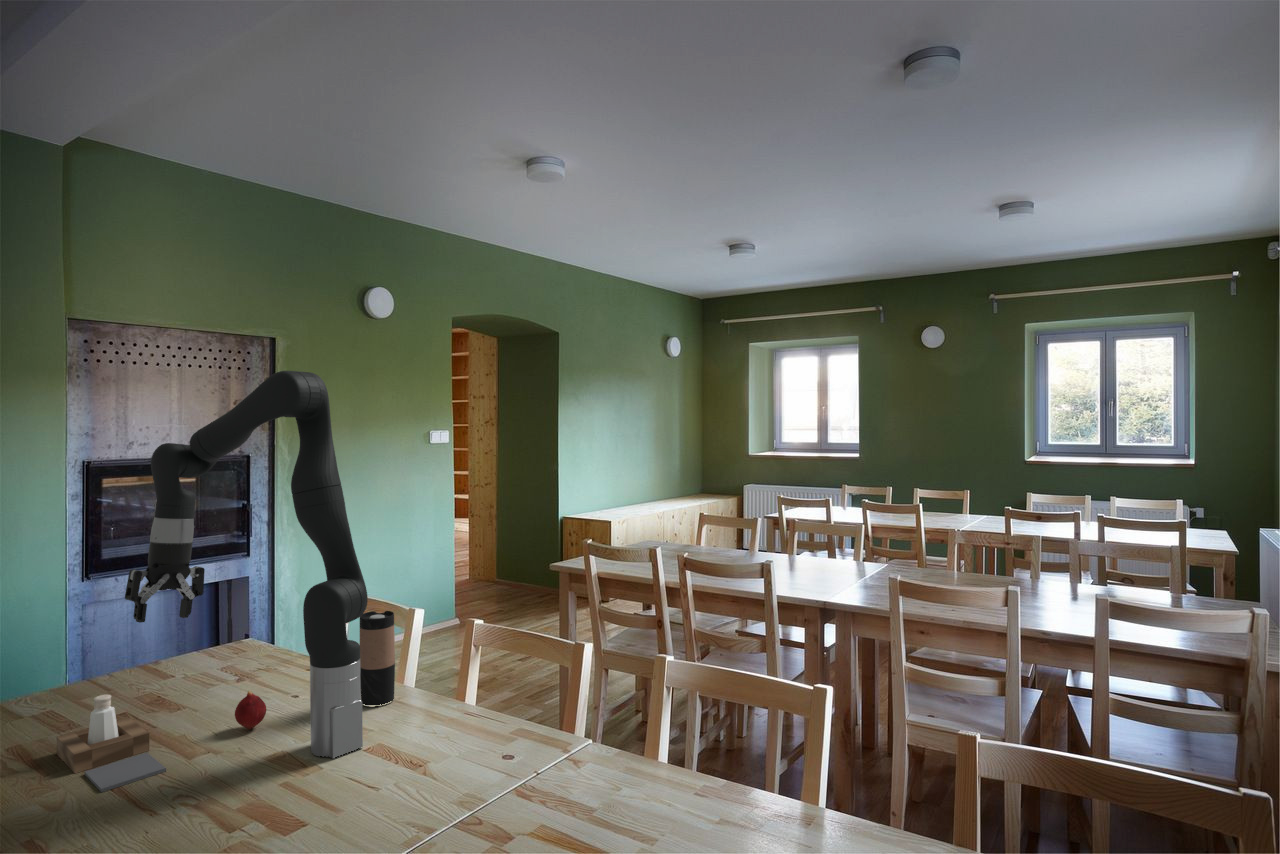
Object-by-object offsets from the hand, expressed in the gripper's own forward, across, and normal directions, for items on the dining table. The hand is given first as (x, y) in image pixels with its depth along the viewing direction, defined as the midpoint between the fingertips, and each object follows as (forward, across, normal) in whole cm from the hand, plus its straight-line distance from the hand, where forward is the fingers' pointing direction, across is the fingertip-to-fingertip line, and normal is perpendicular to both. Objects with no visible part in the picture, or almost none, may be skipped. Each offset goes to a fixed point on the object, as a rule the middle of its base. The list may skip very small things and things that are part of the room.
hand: (162, 619), depth 153 cm
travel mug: (+20, +37, -24) cm, 48 cm away
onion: (+22, +13, -13) cm, 29 cm away
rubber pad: (+25, -10, -11) cm, 29 cm away
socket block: (+25, -7, +2) cm, 26 cm away
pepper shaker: (+25, -7, +2) cm, 26 cm away
